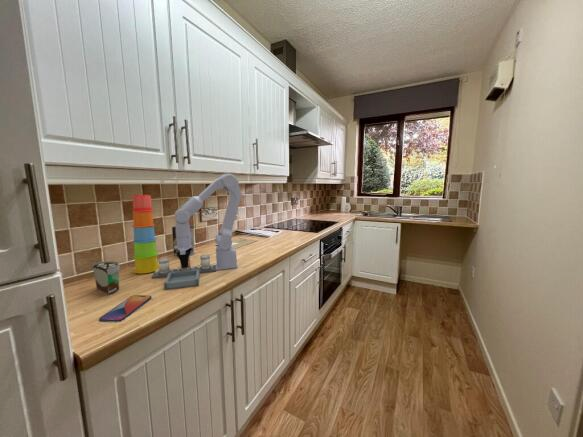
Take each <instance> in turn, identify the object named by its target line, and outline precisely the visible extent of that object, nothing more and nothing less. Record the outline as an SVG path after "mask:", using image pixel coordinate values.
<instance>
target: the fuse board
mask: <svg viewBox="0 0 583 437" xmlns="http://www.w3.org/2000/svg"><path fill="white" fill-rule="evenodd" d="M196 269H199V273H200V274H205V273H206V274H208V273H215V272H217V270H216V264H214V263H212V264H211V263H210V269H208V270H201V264H200V265H197V266H194V265H192V266H190V270H196ZM177 271H181V266H179V267H177V268H174V267H173V268H172V267H170V272H177ZM167 276H168V274H160V273H159V269H158V270H156V271H154V272H152V275H151V277H150V278H151V279H161V278H167Z"/></svg>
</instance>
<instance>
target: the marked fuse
mask: <svg viewBox="0 0 583 437" xmlns="http://www.w3.org/2000/svg"><path fill="white" fill-rule="evenodd" d="M179 264H180V268H181V271H187V270H190V267H191V256H189V260H188V267H187V268H182V266H181V262H179Z"/></svg>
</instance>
